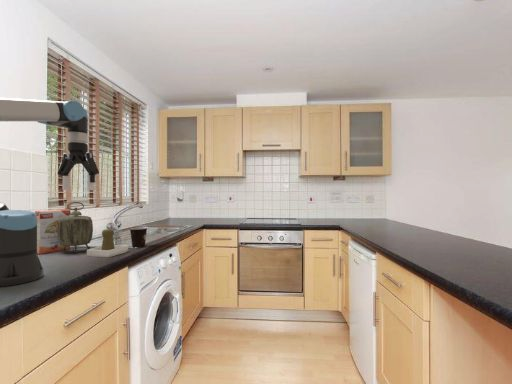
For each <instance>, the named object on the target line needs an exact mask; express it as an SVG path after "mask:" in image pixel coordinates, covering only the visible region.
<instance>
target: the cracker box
mask: <svg viewBox="0 0 512 384" xmlns="http://www.w3.org/2000/svg"><path fill="white" fill-rule="evenodd" d="M71 212H72V210H70V209H47V210H34V213H35V214H36V216H37V221H38V224H37V255H42V254H47V253H48V254H49V253H55V252H62V249H64V247H65V246H62V245H60V244H59V241H58V235H57V230H58V223H59V221H60V219H62V218H64V217H68V216H70V214H71ZM68 250H71V246H67V247H66V251H68Z"/></svg>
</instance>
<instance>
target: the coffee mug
mask: <svg viewBox="0 0 512 384" xmlns="http://www.w3.org/2000/svg"><path fill="white" fill-rule="evenodd" d="M129 230H130V238H131V239H130V241H131V247H132V248H133V249H136V248H135V247H141V248H144V247H143V246H145V247H146V243H147V242H146V240H147V234H148V233H147V232H148V228H147V227H139V226H138V227H131V228H129Z"/></svg>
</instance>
